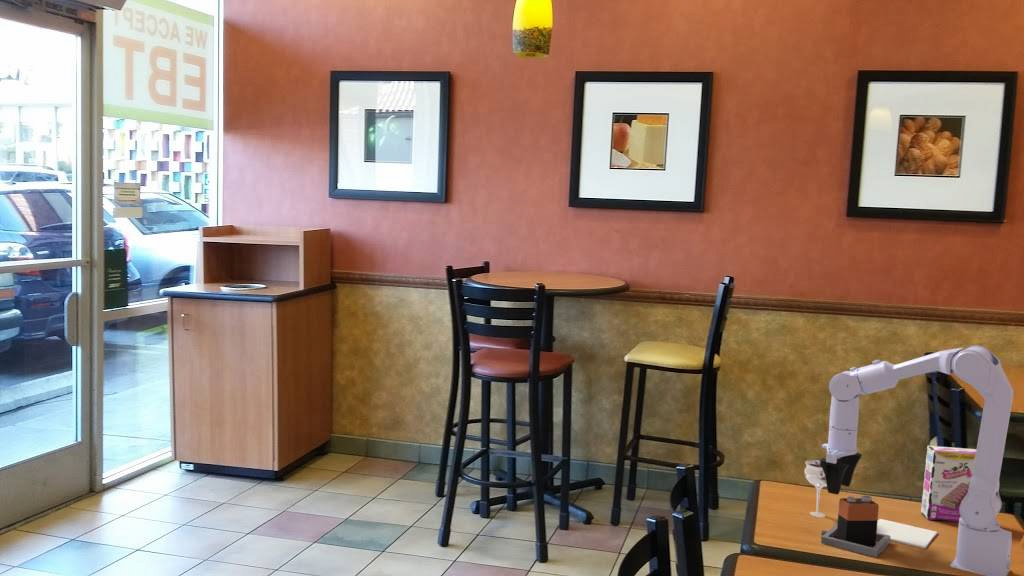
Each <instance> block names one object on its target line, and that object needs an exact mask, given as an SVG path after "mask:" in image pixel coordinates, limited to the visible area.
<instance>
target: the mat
mask: <svg viewBox="0 0 1024 576" xmlns="http://www.w3.org/2000/svg"><path fill="white" fill-rule="evenodd" d="M877 533H881V534H885V535H889V536H891V538H890V542H891V541H892V542H895V543H899V544H904V545H908V546H912V547H916V548H919V549H920V548H921V549H926V548H927V547H928V546H929V544H930V543H931V542H932V541H933V539H934V538H935V537H936V536H937V534H938V531H934V530H931V529H927V528H922V527H918V526H914V525H913V526H912V525H909V524H906V523H901V522H896V521H891V520H887V519H884V518H878V521H877Z"/></svg>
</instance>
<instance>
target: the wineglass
mask: <svg viewBox="0 0 1024 576" xmlns="http://www.w3.org/2000/svg"><path fill="white" fill-rule="evenodd" d="M804 462H805V465H806V466H805V468H804V473H803V474H804V477H805V479H806V480H807V481H808V482H809V483H810V484H811V485H813V486H814V488H815V489H816V506H815V507H816V510H815V511H810V512H809V513H810V514H811V515H810V514H809V515H810V516H812V515H813V517H815V516H816V517H817V518H825V517H826V514H824V513H822V512H819V505H820V496H821V491H822V490H821V489H823V488H825V487H827V484H826V478H825V474H824V471H823V468H822V466H821V464H820V460H817V459H814V460H813V459H812V460H811V459H810V460H806V461H804ZM816 517H815V518H816Z"/></svg>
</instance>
